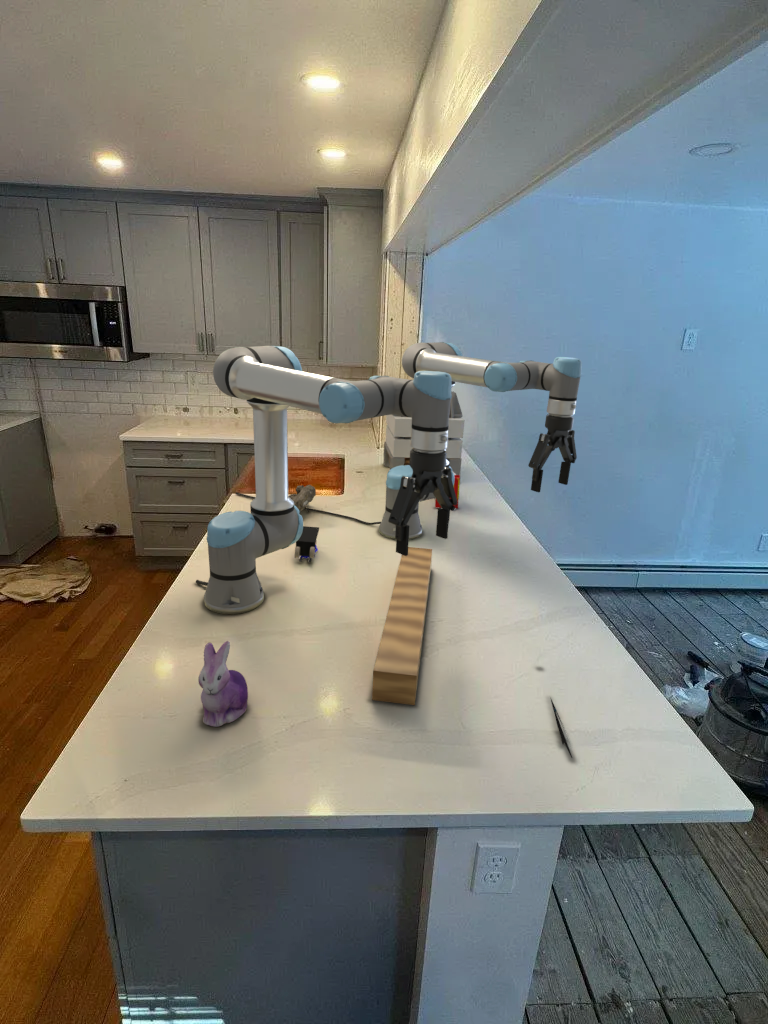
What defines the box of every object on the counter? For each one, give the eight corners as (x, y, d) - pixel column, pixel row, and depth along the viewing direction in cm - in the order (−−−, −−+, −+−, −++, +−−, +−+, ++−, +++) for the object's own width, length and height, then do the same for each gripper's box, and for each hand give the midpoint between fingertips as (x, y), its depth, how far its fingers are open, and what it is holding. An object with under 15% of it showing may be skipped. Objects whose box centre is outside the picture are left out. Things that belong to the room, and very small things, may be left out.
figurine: (205, 736, 103) (200, 666, 98) (195, 702, 111) (189, 636, 106) (256, 721, 107) (254, 653, 102) (243, 690, 116) (239, 626, 111)
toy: (452, 466, 252) (464, 476, 223) (451, 496, 255) (462, 509, 226) (425, 465, 252) (433, 475, 222) (424, 495, 254) (431, 508, 225)
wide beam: (402, 567, 174) (403, 546, 172) (430, 570, 173) (432, 549, 171) (371, 700, 115) (373, 670, 112) (414, 705, 114) (416, 675, 111)
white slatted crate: (382, 463, 289) (386, 382, 275) (445, 464, 293) (451, 384, 279) (390, 482, 257) (394, 392, 243) (460, 483, 261) (468, 394, 247)
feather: (540, 672, 128) (545, 666, 127) (572, 762, 101) (579, 755, 101) (533, 668, 128) (539, 662, 127) (564, 758, 101) (571, 750, 100)
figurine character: (315, 569, 173) (320, 545, 186) (315, 547, 170) (319, 524, 183) (293, 568, 173) (299, 544, 186) (293, 547, 169) (299, 524, 183)
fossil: (285, 490, 226) (313, 470, 221) (301, 508, 229) (329, 489, 224) (270, 515, 206) (301, 493, 201) (287, 534, 209) (318, 513, 204)
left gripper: (402, 462, 105) (397, 567, 112) (478, 444, 122) (469, 535, 129) (373, 455, 110) (369, 555, 117) (450, 438, 127) (443, 526, 134)
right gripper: (545, 421, 148) (534, 498, 155) (596, 413, 163) (584, 483, 171) (521, 416, 153) (512, 490, 161) (573, 409, 169) (562, 477, 176)
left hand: (422, 545), depth 123 cm, fingers open, 13 cm apart
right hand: (549, 487), depth 166 cm, fingers open, 13 cm apart
